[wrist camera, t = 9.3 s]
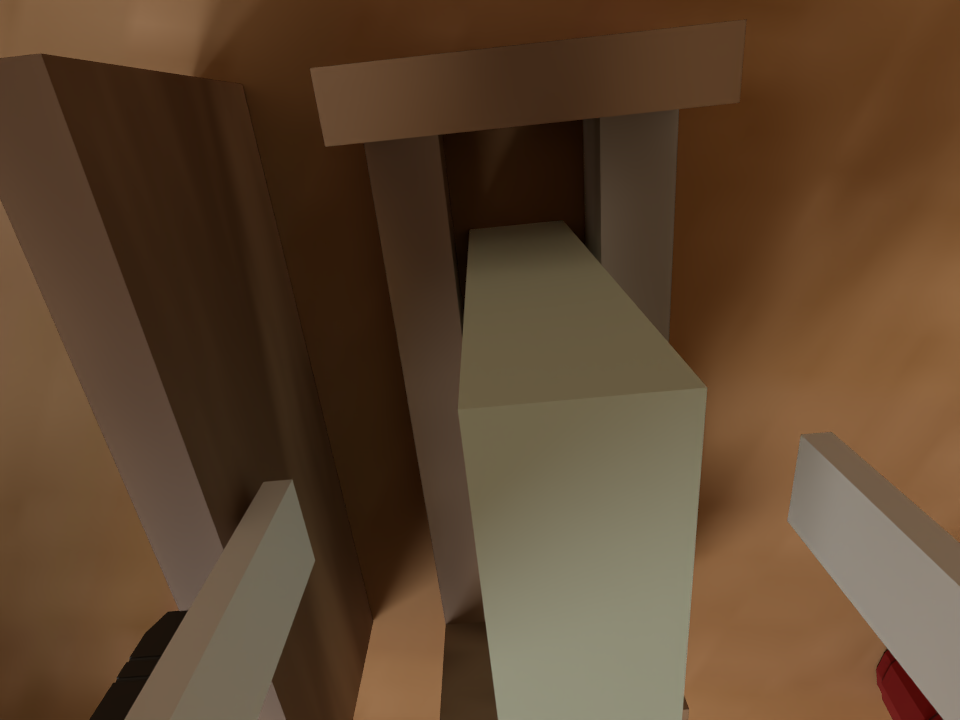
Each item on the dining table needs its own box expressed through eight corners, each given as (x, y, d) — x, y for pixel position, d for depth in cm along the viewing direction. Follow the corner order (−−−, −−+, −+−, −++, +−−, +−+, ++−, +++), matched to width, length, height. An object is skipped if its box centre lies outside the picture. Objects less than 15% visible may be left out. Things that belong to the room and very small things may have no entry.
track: (337, 624, 25) (278, 838, 17) (188, 90, 16) (-59, 64, 9) (638, 601, 24) (709, 812, 17) (652, 38, 15) (809, -35, 8)
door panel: (500, 524, 22) (523, 912, 11) (469, 229, 18) (457, 409, 7) (573, 518, 22) (667, 904, 11) (562, 219, 18) (707, 387, 7)
